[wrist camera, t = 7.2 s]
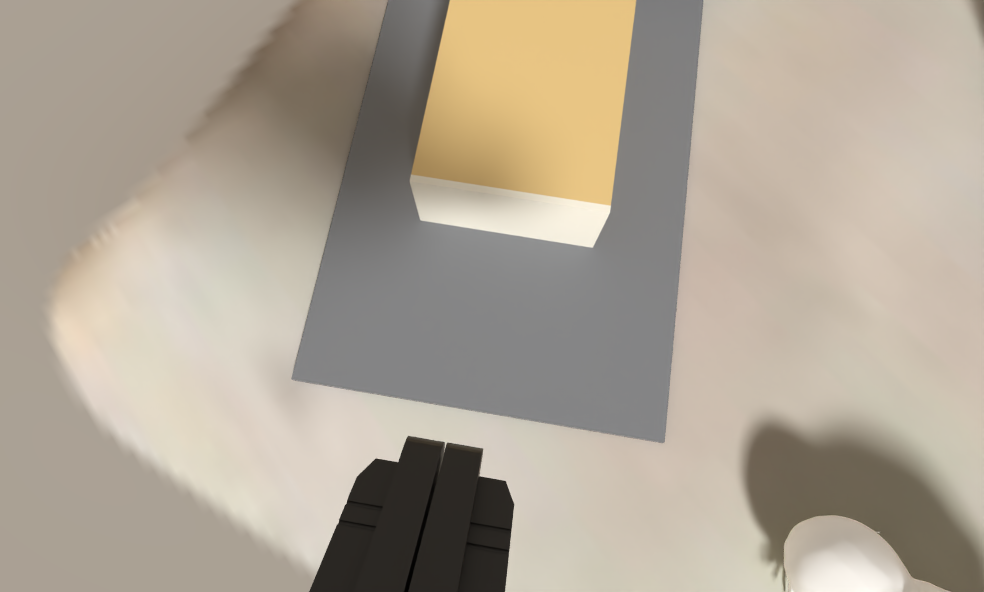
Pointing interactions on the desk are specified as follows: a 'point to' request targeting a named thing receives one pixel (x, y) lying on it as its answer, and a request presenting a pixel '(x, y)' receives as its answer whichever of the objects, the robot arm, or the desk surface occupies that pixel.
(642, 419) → the charcoal mat
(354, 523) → the robot arm
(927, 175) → the desk surface
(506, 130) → the ochre block
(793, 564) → the white figurine
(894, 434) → the desk surface
